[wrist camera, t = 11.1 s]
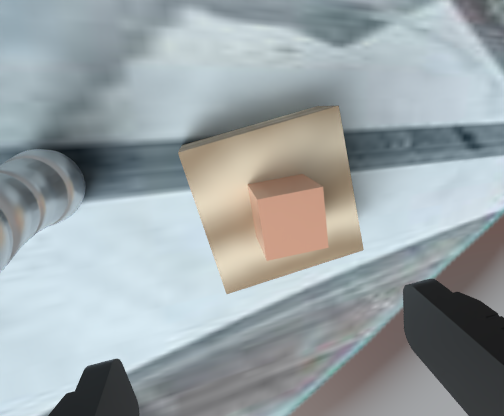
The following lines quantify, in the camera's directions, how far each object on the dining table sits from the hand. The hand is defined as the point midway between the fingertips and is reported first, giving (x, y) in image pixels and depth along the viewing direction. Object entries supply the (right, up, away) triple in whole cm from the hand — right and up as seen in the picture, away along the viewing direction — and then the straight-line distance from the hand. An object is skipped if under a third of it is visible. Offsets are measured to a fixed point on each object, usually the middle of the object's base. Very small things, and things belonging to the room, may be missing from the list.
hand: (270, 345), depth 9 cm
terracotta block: (+2, +4, +20) cm, 21 cm away
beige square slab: (+1, +6, +26) cm, 27 cm away
